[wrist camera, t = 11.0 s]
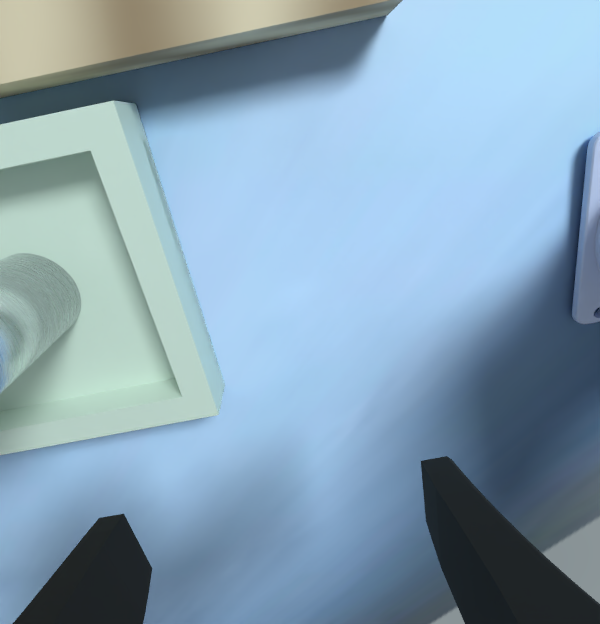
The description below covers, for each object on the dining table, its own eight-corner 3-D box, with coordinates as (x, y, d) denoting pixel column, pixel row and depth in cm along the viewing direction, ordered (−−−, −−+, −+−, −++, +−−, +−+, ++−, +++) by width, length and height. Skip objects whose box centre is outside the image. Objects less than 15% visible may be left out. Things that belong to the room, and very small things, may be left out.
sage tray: (135, 103, 15) (113, 100, 13) (224, 385, 20) (218, 414, 18) (-188, 172, 15) (-260, 179, 13) (-21, 430, 20) (-54, 465, 18)
